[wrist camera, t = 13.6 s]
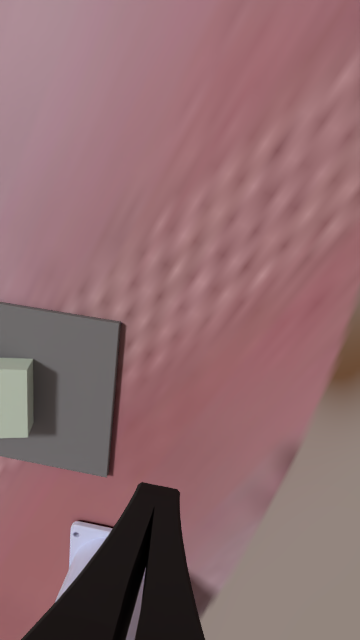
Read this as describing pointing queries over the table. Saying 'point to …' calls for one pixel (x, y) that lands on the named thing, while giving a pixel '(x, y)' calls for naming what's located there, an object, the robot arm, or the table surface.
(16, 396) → the domino
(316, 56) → the table surface
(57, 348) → the charcoal mat
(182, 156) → the table surface
